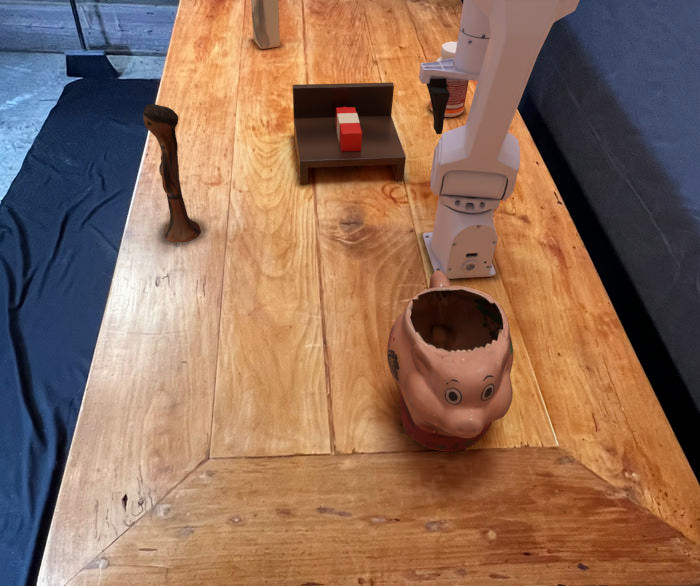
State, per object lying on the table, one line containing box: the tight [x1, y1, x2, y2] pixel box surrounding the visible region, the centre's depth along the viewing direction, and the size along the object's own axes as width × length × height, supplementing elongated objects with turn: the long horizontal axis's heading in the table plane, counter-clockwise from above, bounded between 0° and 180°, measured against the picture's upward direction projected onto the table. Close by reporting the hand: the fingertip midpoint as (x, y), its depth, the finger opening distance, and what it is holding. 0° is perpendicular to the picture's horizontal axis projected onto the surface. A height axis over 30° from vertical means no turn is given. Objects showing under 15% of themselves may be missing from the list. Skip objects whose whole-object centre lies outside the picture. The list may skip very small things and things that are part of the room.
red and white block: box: [336, 107, 362, 152], centre depth 96 cm, size 9×3×3 cm, turn 7°
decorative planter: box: [386, 270, 514, 452], centre depth 63 cm, size 20×12×14 cm, turn 10°
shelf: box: [291, 82, 407, 185], centre depth 97 cm, size 14×16×9 cm
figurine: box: [142, 102, 202, 243], centre depth 80 cm, size 7×5×18 cm
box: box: [250, 0, 281, 50], centre depth 125 cm, size 5×4×13 cm
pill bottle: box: [429, 41, 470, 118], centre depth 109 cm, size 6×6×11 cm
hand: (463, 129), depth 90 cm, fingers open, 7 cm apart
